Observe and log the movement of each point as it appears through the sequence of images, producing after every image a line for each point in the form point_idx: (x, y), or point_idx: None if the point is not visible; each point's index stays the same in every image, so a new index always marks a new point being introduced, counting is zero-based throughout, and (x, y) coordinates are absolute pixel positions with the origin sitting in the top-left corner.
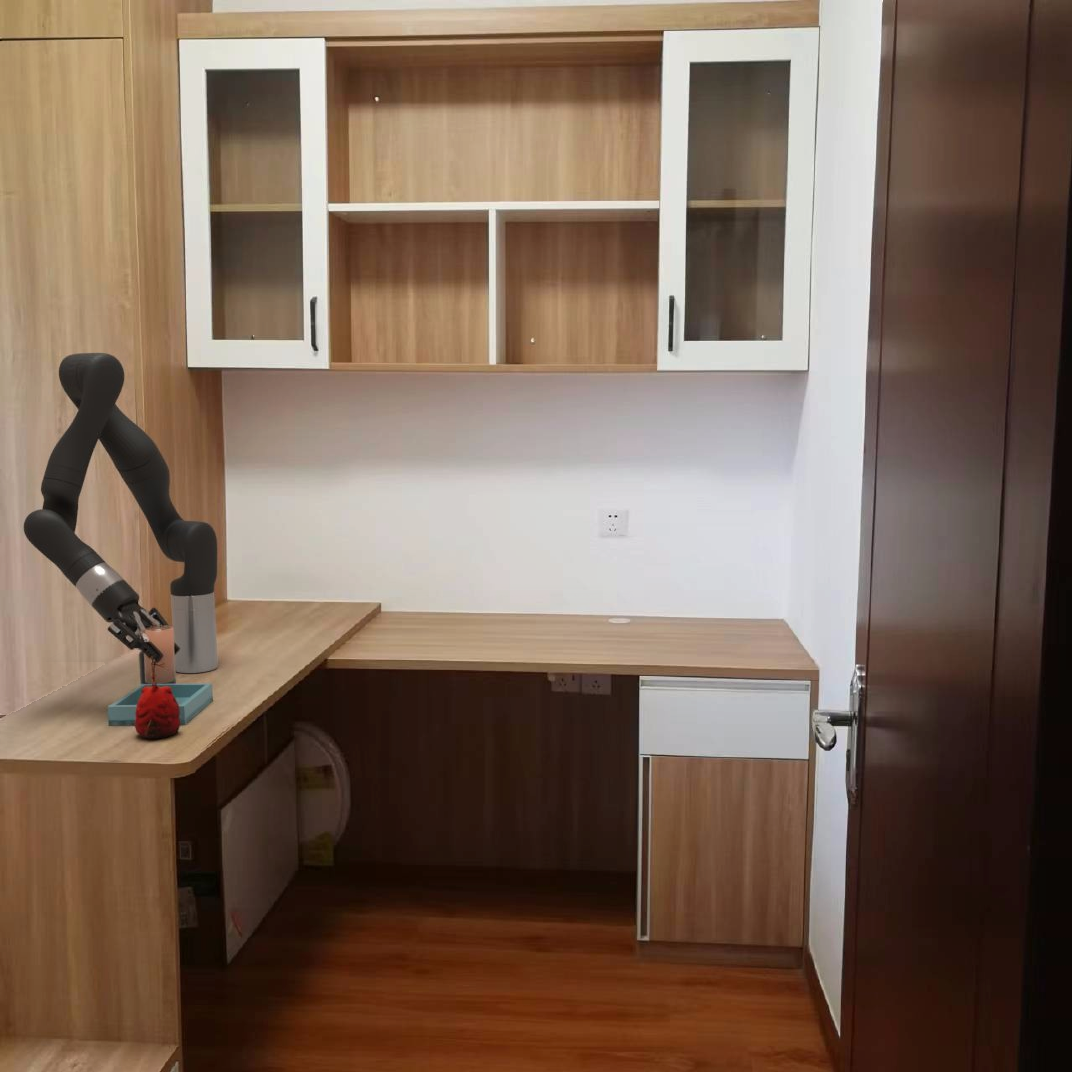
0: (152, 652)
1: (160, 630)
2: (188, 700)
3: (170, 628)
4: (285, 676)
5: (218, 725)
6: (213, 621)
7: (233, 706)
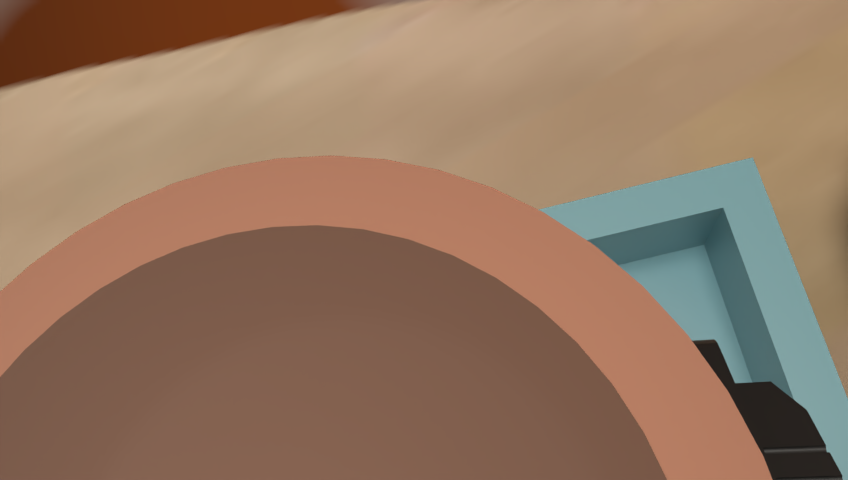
0: (823, 460)
1: (580, 329)
2: (594, 217)
3: (245, 211)
4: None
5: (667, 22)
6: None
7: (276, 150)
